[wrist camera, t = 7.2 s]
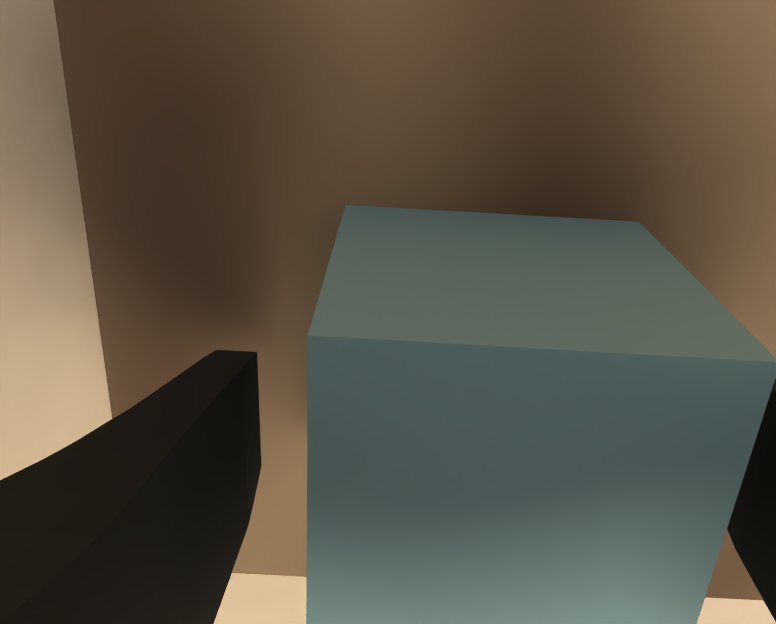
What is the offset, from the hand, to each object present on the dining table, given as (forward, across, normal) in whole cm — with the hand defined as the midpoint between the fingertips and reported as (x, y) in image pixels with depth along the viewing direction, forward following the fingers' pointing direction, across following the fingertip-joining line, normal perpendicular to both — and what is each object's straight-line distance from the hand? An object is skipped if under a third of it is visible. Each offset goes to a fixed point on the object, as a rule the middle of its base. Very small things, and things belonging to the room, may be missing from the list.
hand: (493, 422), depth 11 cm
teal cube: (+3, 0, 0) cm, 3 cm away
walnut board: (+4, 0, 0) cm, 4 cm away
